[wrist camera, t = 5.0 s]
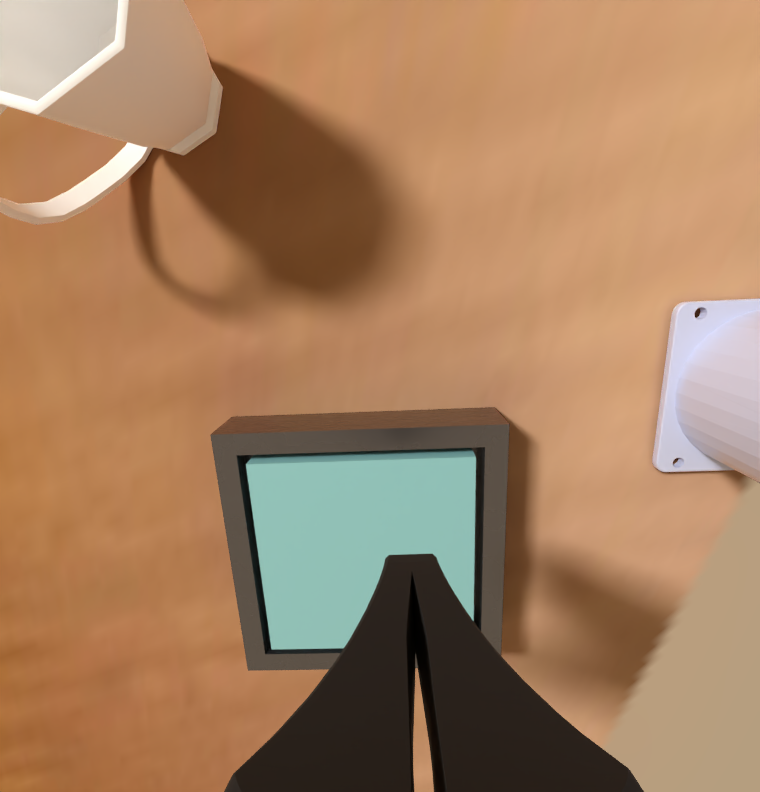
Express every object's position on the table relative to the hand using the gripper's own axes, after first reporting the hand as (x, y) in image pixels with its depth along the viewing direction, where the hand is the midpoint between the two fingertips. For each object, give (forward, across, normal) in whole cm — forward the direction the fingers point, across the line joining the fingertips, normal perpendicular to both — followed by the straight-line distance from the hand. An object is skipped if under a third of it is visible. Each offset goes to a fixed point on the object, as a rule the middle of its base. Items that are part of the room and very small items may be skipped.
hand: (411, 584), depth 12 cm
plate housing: (+9, +2, +4) cm, 10 cm away
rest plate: (+8, +2, +4) cm, 9 cm away
